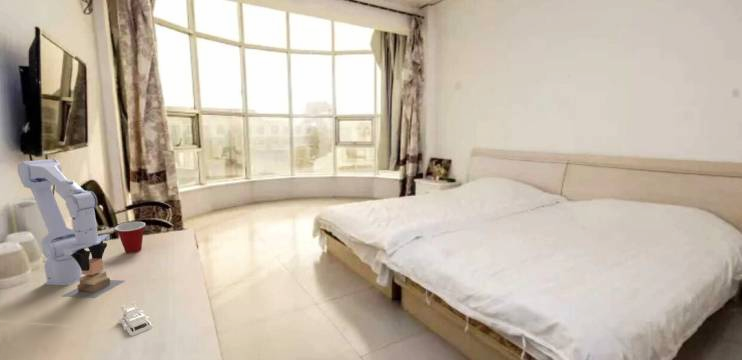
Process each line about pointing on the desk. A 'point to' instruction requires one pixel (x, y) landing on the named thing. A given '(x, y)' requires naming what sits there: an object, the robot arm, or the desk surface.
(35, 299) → the desk surface
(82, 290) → the tower base
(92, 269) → the cube
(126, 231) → the plastic cup
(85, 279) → the tower middle
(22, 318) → the desk surface
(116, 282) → the mat
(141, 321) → the toy car
